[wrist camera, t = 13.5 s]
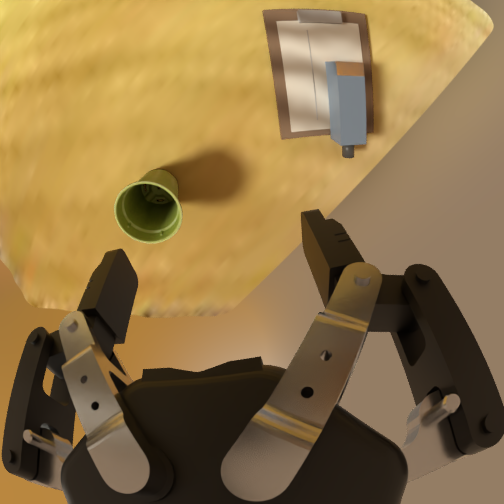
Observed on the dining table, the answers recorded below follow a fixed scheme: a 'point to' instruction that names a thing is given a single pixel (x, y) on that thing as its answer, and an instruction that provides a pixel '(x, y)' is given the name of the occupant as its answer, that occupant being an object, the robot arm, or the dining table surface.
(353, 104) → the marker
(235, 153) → the dining table surface
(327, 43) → the clipboard
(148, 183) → the plant pot
